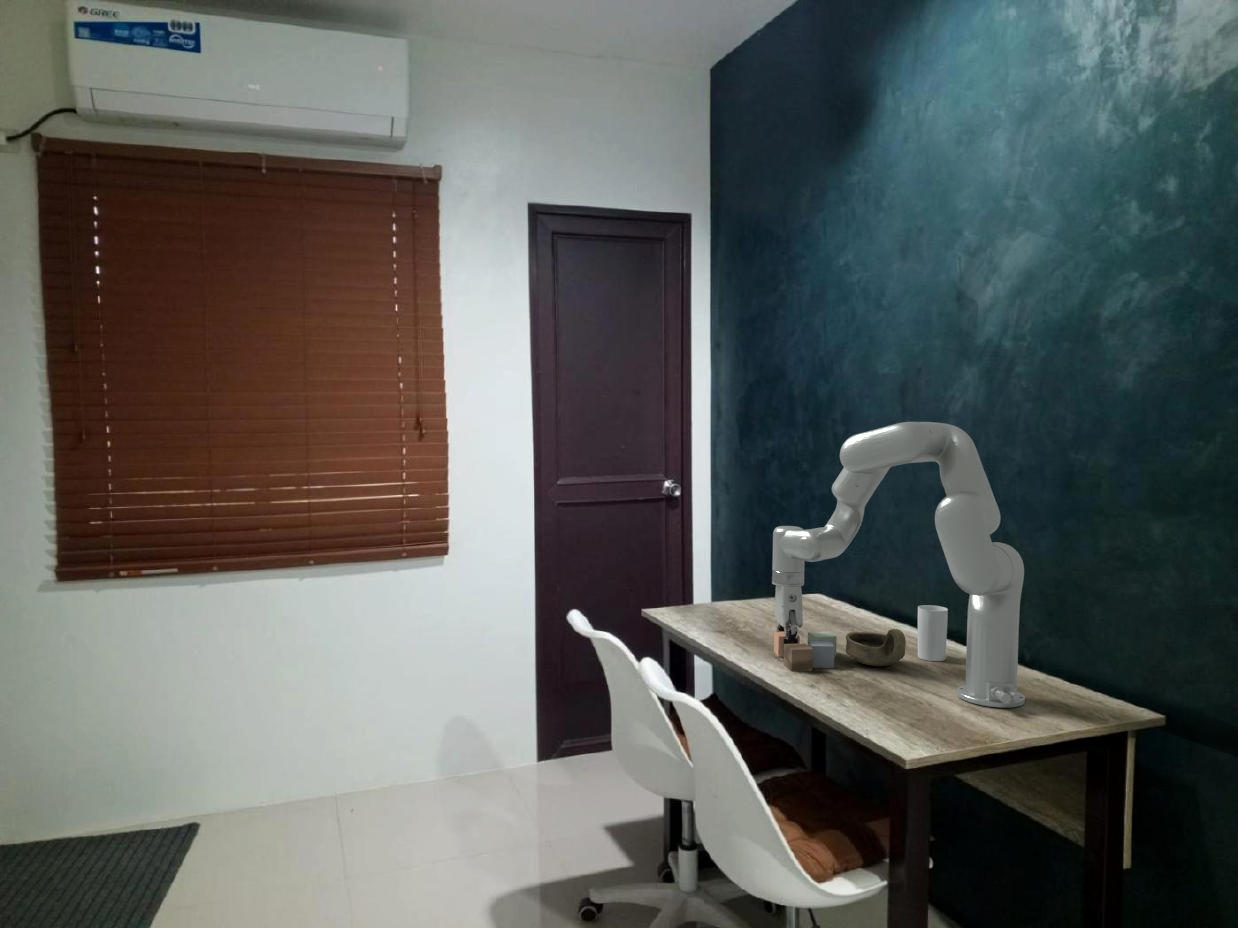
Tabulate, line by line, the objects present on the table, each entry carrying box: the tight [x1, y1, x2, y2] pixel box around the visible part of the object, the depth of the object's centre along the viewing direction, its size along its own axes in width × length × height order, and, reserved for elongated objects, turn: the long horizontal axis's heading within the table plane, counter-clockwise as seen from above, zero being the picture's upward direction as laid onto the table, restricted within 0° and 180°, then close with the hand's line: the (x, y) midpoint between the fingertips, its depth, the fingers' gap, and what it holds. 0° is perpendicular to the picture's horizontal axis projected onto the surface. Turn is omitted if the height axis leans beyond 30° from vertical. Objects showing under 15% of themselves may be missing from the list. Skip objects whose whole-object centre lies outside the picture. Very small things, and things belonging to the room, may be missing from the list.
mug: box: [917, 604, 949, 662], centre depth 207 cm, size 10×7×12 cm, turn 7°
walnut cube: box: [783, 642, 814, 672], centre depth 196 cm, size 5×5×5 cm
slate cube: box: [809, 641, 835, 669], centre depth 199 cm, size 5×5×5 cm
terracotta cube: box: [773, 631, 801, 658], centre depth 208 cm, size 5×5×5 cm
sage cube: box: [807, 631, 837, 658], centre depth 208 cm, size 5×5×5 cm
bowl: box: [845, 628, 907, 667], centre depth 198 cm, size 14×18×10 cm
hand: (786, 650), depth 208 cm, fingers open, 7 cm apart
